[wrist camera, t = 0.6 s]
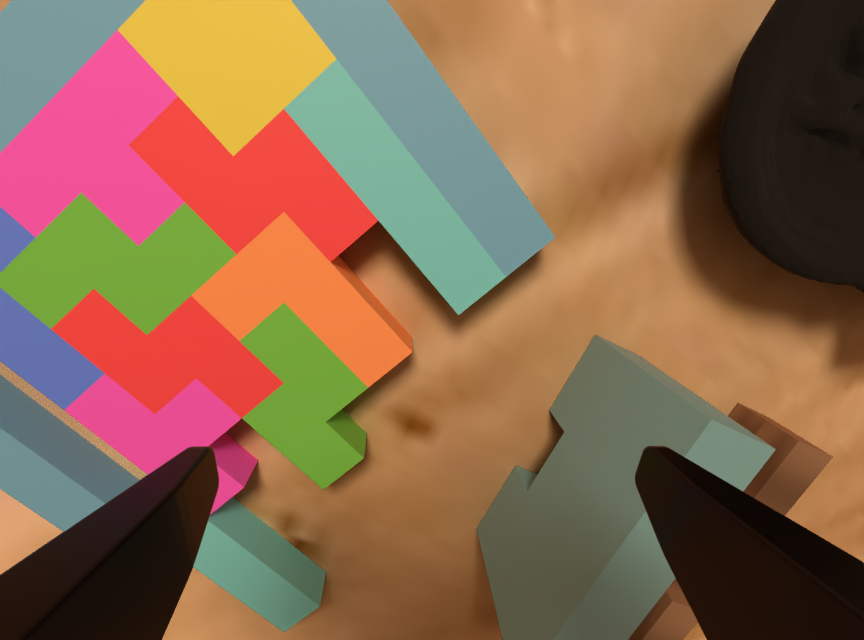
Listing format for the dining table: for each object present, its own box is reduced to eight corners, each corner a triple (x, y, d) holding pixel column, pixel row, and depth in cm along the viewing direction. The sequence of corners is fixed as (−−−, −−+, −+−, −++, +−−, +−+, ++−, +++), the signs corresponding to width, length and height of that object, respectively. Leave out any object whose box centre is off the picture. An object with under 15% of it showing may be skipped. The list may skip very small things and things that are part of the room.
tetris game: (-178, 293, 20) (263, 612, 28) (-266, 309, 17) (249, 657, 25) (249, -166, 16) (619, 347, 24) (220, -234, 14) (647, 367, 22)
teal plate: (518, 543, 27) (574, 707, 18) (476, 529, 26) (515, 692, 18) (639, 355, 24) (776, 449, 15) (595, 334, 23) (711, 419, 15)
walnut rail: (594, 647, 30) (622, 713, 27) (565, 638, 30) (590, 704, 26) (768, 417, 26) (833, 456, 22) (738, 402, 25) (799, 440, 21)
